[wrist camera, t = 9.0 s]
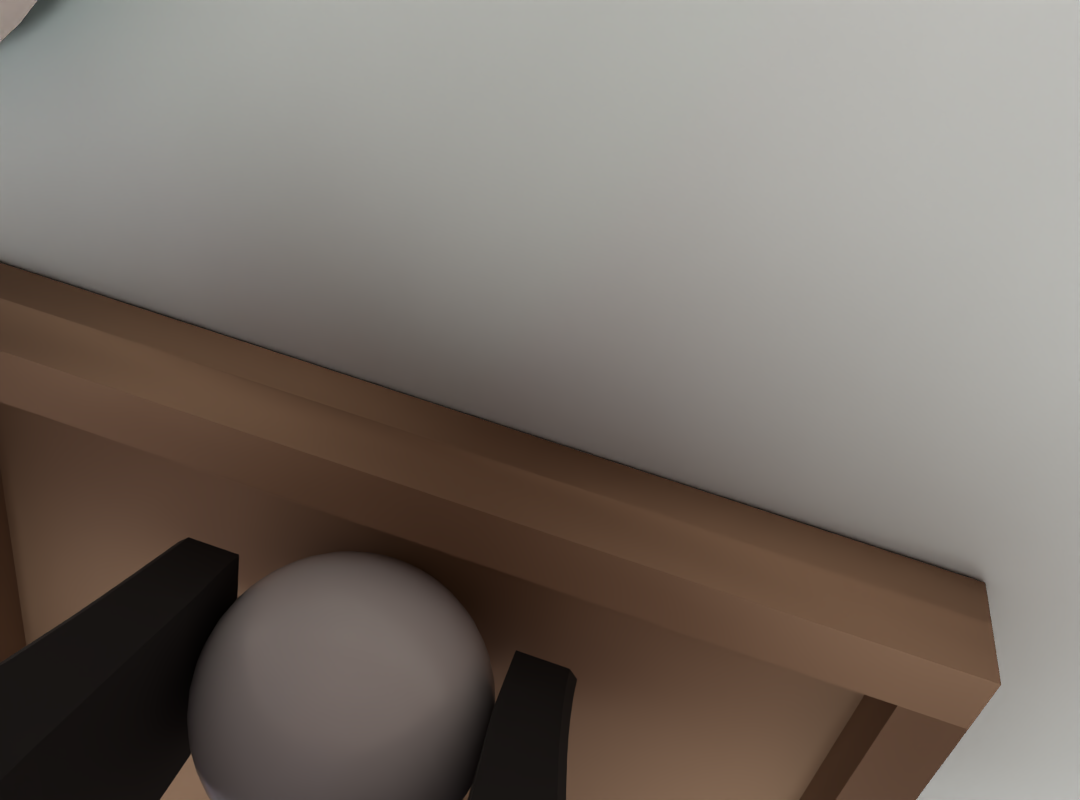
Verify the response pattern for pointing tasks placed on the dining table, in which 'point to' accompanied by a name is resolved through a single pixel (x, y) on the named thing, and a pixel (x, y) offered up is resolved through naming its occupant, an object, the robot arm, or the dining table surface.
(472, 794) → the robot arm
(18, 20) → the can
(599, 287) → the dining table surface
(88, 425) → the tray
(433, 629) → the pebble
